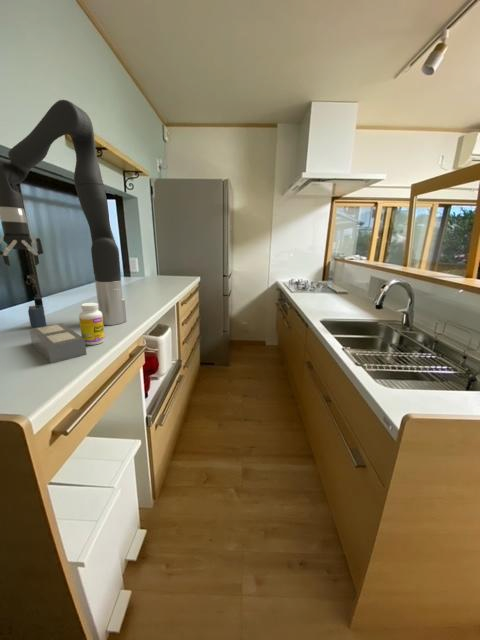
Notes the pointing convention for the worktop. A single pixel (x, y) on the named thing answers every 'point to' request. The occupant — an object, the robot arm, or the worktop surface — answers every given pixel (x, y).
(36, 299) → the vaping device
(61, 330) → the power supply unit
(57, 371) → the worktop surface
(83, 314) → the supplement bottle
